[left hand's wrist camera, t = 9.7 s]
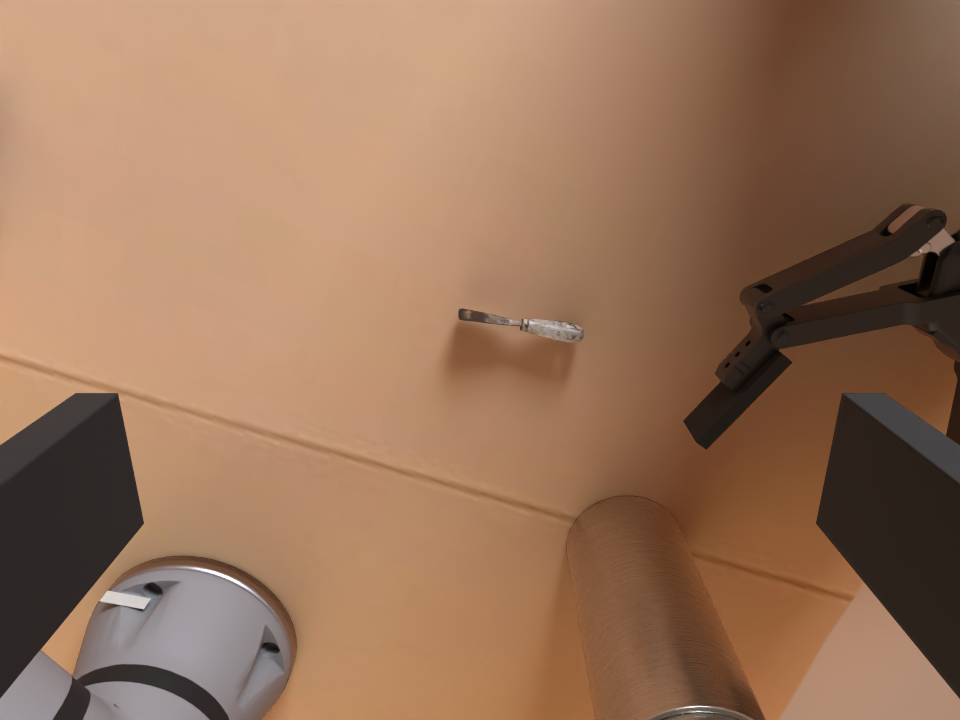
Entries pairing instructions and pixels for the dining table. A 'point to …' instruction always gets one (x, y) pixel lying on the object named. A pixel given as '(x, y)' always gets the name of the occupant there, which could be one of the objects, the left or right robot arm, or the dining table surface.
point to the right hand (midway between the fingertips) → (778, 497)
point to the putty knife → (530, 325)
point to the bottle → (650, 620)
